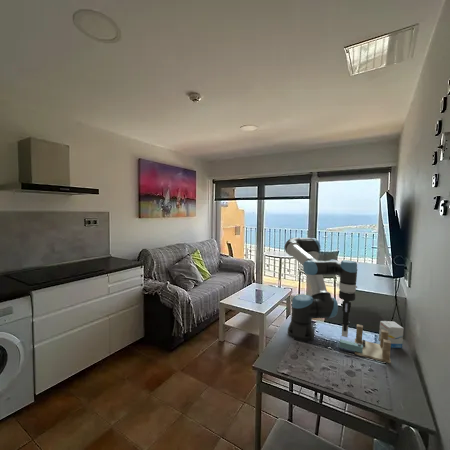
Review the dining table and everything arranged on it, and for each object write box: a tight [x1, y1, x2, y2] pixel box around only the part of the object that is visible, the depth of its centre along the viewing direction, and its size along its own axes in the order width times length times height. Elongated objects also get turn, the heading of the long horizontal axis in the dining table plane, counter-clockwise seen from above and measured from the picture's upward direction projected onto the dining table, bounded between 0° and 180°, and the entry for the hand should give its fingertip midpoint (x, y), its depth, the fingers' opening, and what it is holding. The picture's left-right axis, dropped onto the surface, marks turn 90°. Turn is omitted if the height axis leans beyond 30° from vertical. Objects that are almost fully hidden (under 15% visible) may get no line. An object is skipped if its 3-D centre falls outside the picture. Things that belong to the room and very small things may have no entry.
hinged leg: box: [338, 339, 363, 353], centre depth 135 cm, size 11×3×4 cm, turn 63°
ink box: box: [378, 320, 404, 349], centre depth 144 cm, size 9×8×12 cm
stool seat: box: [354, 324, 392, 364], centre depth 136 cm, size 16×16×10 cm
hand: (344, 336), depth 130 cm, fingers closed
